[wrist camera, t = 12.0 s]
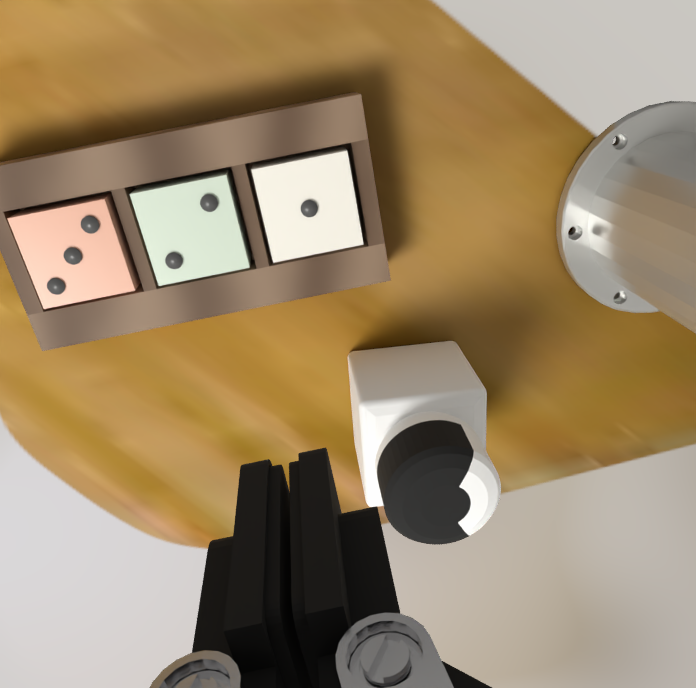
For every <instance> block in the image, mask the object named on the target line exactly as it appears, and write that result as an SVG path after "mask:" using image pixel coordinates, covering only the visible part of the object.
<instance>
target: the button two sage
mask: <svg viewBox="0 0 696 688" xmlns="http://www.w3.org/2000/svg"><path fill="white" fill-rule="evenodd" d="M130 197H131V200H132V204H133V207H134V210H135V213H136V216H137V219H138V222H139V226H140V229H141V232H142V235H143V238H144V241H145V244H146V248H147V251H148V254H149V257H150V260H151V263H152V266H153V269H154V273H155V276H156V279H157V282H158V285H159V286H161V285H166V284H171V283H176V282H181V281H186V280H191V279H196V278H201V277H206V276H211V275H216V274H221V273H226V272H231V271H236V270H241V269H246V268H250V263H251V256H252V255H251V251H250V247H249V243H248V239H247V235H246V231H245V227H244V223H243V219H242V215H241V211H240V207H239V203H238V199H237V195H236V191H235V187H234V183H233V179H232V175H231V171H230V168H228V169H223V170H218V171H213V172H208V173H203V174H198V175H193V176H188V177H183V178H178V179H173V180H168V181H162V182H157V183H152V184H147V185H142V186H139V187H138V188H136V189H135V190H134V191H133V192H132V193H130Z"/></svg>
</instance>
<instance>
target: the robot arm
mask: <svg viewBox="0 0 696 688" xmlns="http://www.w3.org/2000/svg"><path fill="white" fill-rule="evenodd" d="M615 137H616V142H615V143H614V144H612V142H613V139H614V138H615ZM571 227H573V229H572V231H571V232H570V233H568V231H569V230H570V228H571ZM556 237H557V242H558V247H559V252H560V256H561V258H562V261H563V263H564V265H565V268H566V270H567V272H568V273H569V274H570V276H571V277H572V279H573V280H574V281H575V283H576V284H577V285H578V286H579V287H580V288H581V289H583V290H584V291H585V292H586V293H587V294H588V295H590V296H591V297H593V298H594V299H596V300H597V301H599V302H600V303H602V304H604V305H606V306H608V307H611V308H613V309H616V310H620V311H626V312H632V313H653V312H658V311H662V312H663V313H665V314H666V315H668V316H669V317H671V318H672V319H674V320H676V321H677V322H679V323H680V324H682V325H683V326H685V327H686V328H688V329H689V330H691V331H693V332H694V333H696V102H674V101H673V102H672V101H670V102H665V103H659V104H655V105H649V106H647V107H644V108H642V109H640V110H637V111H634V112H632V113H630V114H628V115H626V116H625V117H623V118H621V119H620V120H618V121H617V122H615V123H613V124H612V125H610V126H609V127H608V128H607V129H606V130H605V131H604V132H603V133H601V134H600V135H599V136H598V137H597V138H596V139H594V140H593V141H592V143H591V144H590V145H589V146H588V148H587V149H586V150H585V151H584V152H583V154H582V155H581V156H580V157H579V159H578V161H577V162H576V164H575V166H574V167H573V169H572V171H571V173H570V174H569V176H568V178H567V181H566V184H565V186H564V189H563V192H562V194H561V197H560V202H559V207H558V212H557V236H556ZM616 293H617V294H616ZM615 294H616V295H615ZM289 484H290V493H289V489H288V485H287V481H286V478H285V474H284V470H283V467H282V465H276V466H272V464H271V461H270V460H269V459H268V460H263V461H258V462H254V463H249V464H244V465H241V468H240V477H239V487H238V496H237V506H236V516H235V525H234V535H233V536H232V537H227V538H222V539H217V540H212V541H211V542H210V543H209V547H208V552H207V559H206V565H205V572H204V578H203V585H202V591H201V598H200V605H199V611H198V618H197V624H196V630H195V637H194V643H193V650H192V653H190V654H188V655H186V656H184V657H182V658H180V659H178V660H176V661H175V662H173V663H172V664H170V665H169V666H168V667H167V668H165V669H164V670H163V671H162V672H161V673H160V674H159V675H158V677H157V678H156V679H155V680H154V681H153V682H152V684H151V686H150V688H492V687H490V686H488V685H486V684H484V683H482V682H480V681H478V680H477V679H475V678H473V677H471V676H469V675H467V674H465V673H464V672H462V671H460V670H458V669H456V668H454V667H452V666H450V665H448V664H447V663H445V662H443V661H441V659H440V656H439V654H438V652H437V650H436V648H435V646H434V644H433V641H432V639H431V637H430V635H429V634H428V632H427V631H426V629H425V628H424V626H423V625H421V624H420V623H419V622H417V621H416V620H414V619H413V618H411V617H408V616H405V615H402V614H400V610H399V605H398V601H397V596H396V591H395V587H394V582H393V578H392V573H391V568H390V564H389V559H388V554H387V550H386V545H385V541H384V536H383V531H382V527H381V522H380V517H379V513H378V508H377V506H376V507H371V508H366V509H362V510H357V511H352V512H347V513H341V509H340V504H339V500H338V496H337V491H336V487H335V483H334V478H333V474H332V470H331V465H330V461H329V457H328V452H327V449H326V448H322V449H317V450H312V451H307V452H302V453H299V461H295V462H290V463H289Z"/></svg>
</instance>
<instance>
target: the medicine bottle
mask: <svg viewBox="0 0 696 688" xmlns="http://www.w3.org/2000/svg"><path fill="white" fill-rule="evenodd" d="M348 368H349V380H350V392H351V405H352V417H353V429H354V441H355V447H356V452H357V458H358V463H359V468H360V473H361V478H362V483H363V489H364V494H365V499H366V503H367V504H368V506H370V507H376V506H384V509H385V513H386V516H387V518H388V520H389V522H390V523H391V525H392V526H393V527H394V528H395V529H396V530H397V531H398V532H399V533H401V534H402V535H403V536H405V537H407V538H409V539H411V540H414V541H417V542H421V543H426V544H447V543H452V542H456V541H459V540H462V539H464V538H466V537H468V536H470V535H472V534H473V533H475V532H476V531H477V530H479V529H480V528H481V527H482V526H483V525H484V524H485V523H486V522H487V521H488V519H489V518H490V517H491V516H492V514H493V513H494V511H495V509H496V507H497V504H498V502H499V498H500V493H501V484H500V479H499V475H498V473H497V471H496V469H495V467H494V465H493V463H492V461H491V459H490V457H489V456H488V454H487V452H486V406H487V392H486V389H485V387H484V386H483V384H482V382H481V381H480V379H479V378H478V376H477V375H476V373H475V371H474V370H473V368H472V367H471V365H470V364H469V362H468V360H467V359H466V357H465V356H464V354H463V352H462V351H461V349H460V348H459V346H458V345H457V343H456V342H454V341H445V342H435V343H426V344H417V345H407V346H398V347H388V348H379V349H370V350H360V351H352V352H350V353H349V354H348Z"/></svg>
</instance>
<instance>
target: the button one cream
mask: <svg viewBox="0 0 696 688" xmlns="http://www.w3.org/2000/svg"><path fill="white" fill-rule="evenodd" d="M251 171H252V175H253V179H254V184H255V188H256V192H257V196H258V200H259V205H260V209H261V213H262V217H263V222H264V226H265V230H266V234H267V238H268V243H269V247H270V251H271V255H272V260H273V263H275V262H280V261H284V260H289V259H294V258H299V257H304V256H309V255H314V254H319V253H324V252H329V251H334V250H339V249H344V248H349V247H354V246H359V245H364V244H363V238H362V232H361V227H360V221H359V215H358V209H357V204H356V198H355V192H354V186H353V181H352V175H351V169H350V163H349V158H348V152H347V150H346V148H345V147H344V146H338V147H333V148H328V149H323V150H318V151H313V152H308V153H303V154H298V155H293V156H288V157H283V158H278V159H273V160H268V161H262V162H257V163H253V166H252V169H251Z"/></svg>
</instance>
